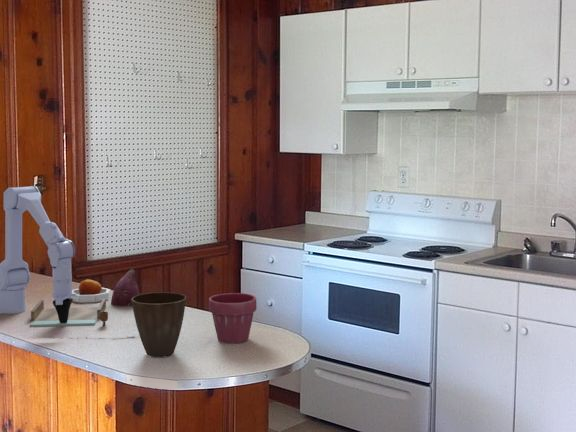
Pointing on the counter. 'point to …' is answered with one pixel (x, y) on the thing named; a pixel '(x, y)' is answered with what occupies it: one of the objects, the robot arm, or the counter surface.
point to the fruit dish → (91, 296)
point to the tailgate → (57, 323)
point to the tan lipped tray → (74, 313)
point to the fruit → (89, 287)
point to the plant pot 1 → (159, 321)
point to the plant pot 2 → (232, 316)
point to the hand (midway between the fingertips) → (63, 322)
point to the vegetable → (125, 290)
